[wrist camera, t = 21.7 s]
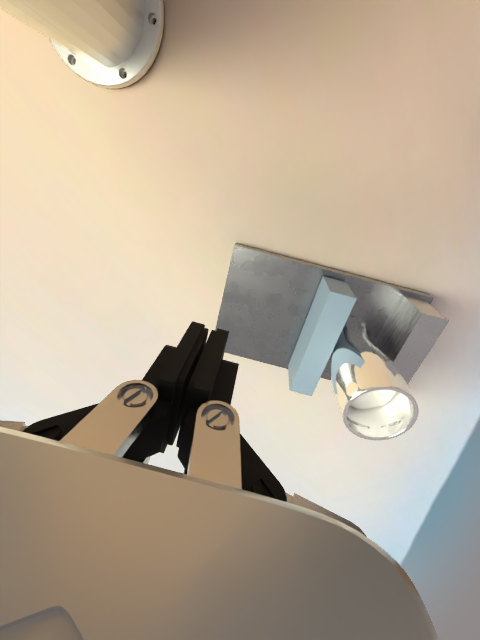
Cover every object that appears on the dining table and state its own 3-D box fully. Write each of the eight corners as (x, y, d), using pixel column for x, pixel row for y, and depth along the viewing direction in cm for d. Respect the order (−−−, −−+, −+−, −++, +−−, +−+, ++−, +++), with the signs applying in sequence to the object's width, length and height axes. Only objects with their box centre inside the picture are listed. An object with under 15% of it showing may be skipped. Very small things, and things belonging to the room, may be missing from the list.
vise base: (213, 343, 44) (201, 372, 38) (235, 242, 37) (226, 256, 30) (373, 385, 44) (390, 422, 38) (427, 293, 37) (460, 318, 30)
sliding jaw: (288, 365, 42) (289, 390, 37) (322, 275, 36) (330, 291, 31) (307, 370, 42) (311, 396, 37) (345, 281, 36) (356, 298, 31)
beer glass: (322, 359, 42) (343, 444, 28) (316, 317, 39) (337, 389, 25) (372, 353, 40) (420, 439, 27) (370, 309, 37) (422, 381, 24)
